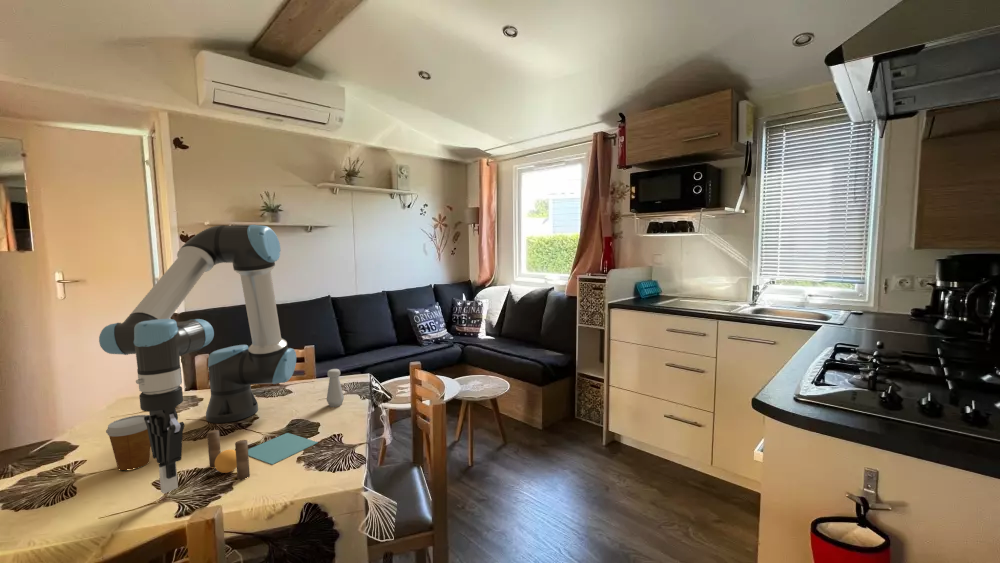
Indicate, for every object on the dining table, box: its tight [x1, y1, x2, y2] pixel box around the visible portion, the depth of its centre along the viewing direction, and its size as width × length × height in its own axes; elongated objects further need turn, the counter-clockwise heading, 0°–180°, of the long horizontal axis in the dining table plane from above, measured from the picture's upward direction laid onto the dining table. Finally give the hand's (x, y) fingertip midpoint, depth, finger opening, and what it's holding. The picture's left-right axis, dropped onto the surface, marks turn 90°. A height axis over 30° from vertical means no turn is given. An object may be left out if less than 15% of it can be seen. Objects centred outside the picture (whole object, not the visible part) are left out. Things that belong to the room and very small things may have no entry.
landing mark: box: [248, 432, 319, 466], centre depth 121 cm, size 14×14×1 cm
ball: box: [214, 449, 237, 474], centre depth 108 cm, size 6×6×6 cm
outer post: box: [234, 439, 251, 480], centre depth 105 cm, size 3×3×9 cm
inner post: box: [206, 429, 222, 468], centre depth 111 cm, size 3×3×9 cm
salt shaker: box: [326, 368, 345, 408], centre depth 153 cm, size 6×6×13 cm
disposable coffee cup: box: [105, 414, 151, 470], centre depth 112 cm, size 10×10×12 cm
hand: (169, 489), depth 97 cm, fingers closed
